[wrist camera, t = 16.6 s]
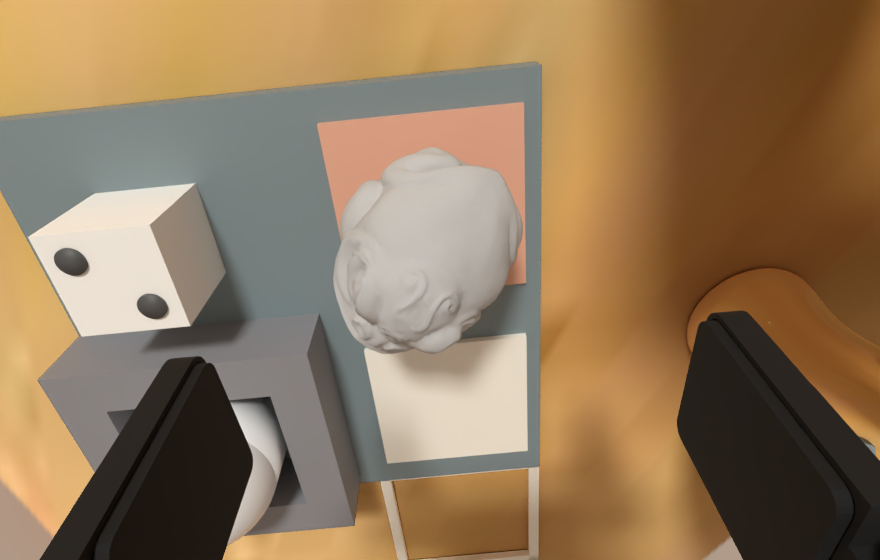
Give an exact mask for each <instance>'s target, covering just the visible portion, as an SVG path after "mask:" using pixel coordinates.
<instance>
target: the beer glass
mask: <svg viewBox="0 0 880 560" xmlns="http://www.w3.org/2000/svg"><path fill="white" fill-rule="evenodd" d="M740 310H743V311H746V312H748V313H749V314H750V315H751V316H752V317H753V318H754V320H755V321H756V322H757V323H758V324H759V325H760V326H761V327H762V329H763V330H764V331H765V332H766V333H767V334H768V335H769V337H770V338H771V339H772V340H773V341H774V342H775V343H776V344H777V346H778V347H779V348H780V349H781V350H782V351H783V352H784V354H785V355H786V356H787V357H788V358H789V359H790V360H791V362H792V363H793V364H794V365H795V366H796V367H797V368H798V369H799V371H800V372H801V373H802V374H803V375H804V376H805V377H806V379H807V380H808V381H809V382H810V383H811V384H812V385H813V386H814V387H815V388H816V389H817V390H818V391H819V392H820V394H821V395H822V396H823V397H824V398H825V399H826V400H827V401H828V403H829V404H830V405H831V406H832V407H833V408H834V409H835V411H836V412H837V413H838V414H839V415H840V416H841V417H842V418H843V420H844V421H845V422H846V423H847V424H848V425H849V426H850V428H851V429H852V430H853V431H854V432H855V433H856V434H857V435H858V437H859V438H860V439H861V440H862V441H863V442H864V443H865V445H866V446H867V447H868V448H869V449H870V450H871V451H872V452H873V454H874V455H875V456H876V457H877V458H878V459H879V460H880V347H879V346H877V345H875V344H873V343H872V342H870V341H868V340H866V339H864V338H863V337H861V336H859V335H858V334H856V333H855V332H854V331H852V330H851V329H849V328H848V327H847V326H845V325H844V324H843V323H842V322H841V321H839V320H838V319H837V318H836V317H835V316H834V315H833V314H832V313H831V312H830V310H829V309H828V308H827V307H826V306H825V304H824V303H823V302H822V300H821V299H820V298H819V297H818V295H817V294H816V293H815V291H814V290H813V289H812V288H811V287H810V286H809V284H808V283H807V282H805V281H804V280H803V279H802V278H801V277H799V276H798V275H796V274H794V273H791V272H789V271H786V270H782V269H776V268H761V269H754V270H750V271H746V272H743V273H740V274H737V275H735V276H733V277H731V278H729V279H727V280H725V281H723V282H722V283H720V284H719V285H717V286H716V287H714V288H713V289H712V290H711V291H710V292H708V293H707V294H706V295H705V296H704V297H703V298H702V300H701V301H700V302H699V303H698V305H697V306H696V308H695V309H694V311H693V313H692V315H691V317H690V319H689V323H688V327H687V342H688V346H689V348H690V351H691V353H692V351H693V347H694V342H695V338H696V333H697V329H698V326H699V324H700V322H703V321H706V320H707V318H708V316H709V315H710V314H711V313H716V312H728V311H740Z"/></svg>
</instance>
